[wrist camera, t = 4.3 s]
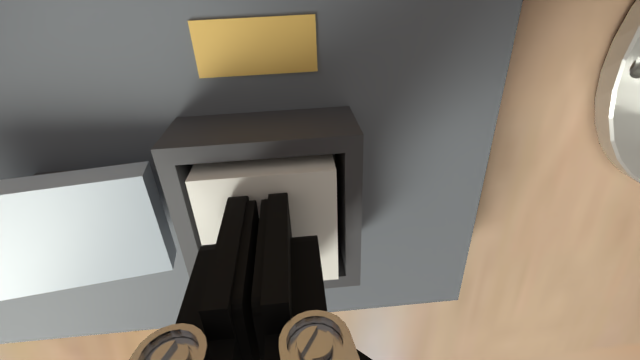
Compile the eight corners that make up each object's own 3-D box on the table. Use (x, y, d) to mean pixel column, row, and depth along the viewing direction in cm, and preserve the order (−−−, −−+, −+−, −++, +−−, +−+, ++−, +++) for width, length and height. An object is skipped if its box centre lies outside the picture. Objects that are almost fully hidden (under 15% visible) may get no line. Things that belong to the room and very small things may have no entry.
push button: (327, 135, 12) (336, 170, 10) (330, 233, 14) (338, 279, 12) (203, 144, 11) (184, 181, 9) (224, 242, 13) (213, 290, 11)
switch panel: (482, -46, 12) (604, -62, 8) (434, 256, 19) (483, 347, 15) (-324, -11, 11) (-782, -3, 6) (-66, 301, 18) (-193, 417, 13)
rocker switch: (148, 160, 11) (142, 176, 10) (176, 250, 13) (173, 270, 12) (-121, 195, 10) (-154, 215, 9) (-49, 289, 12) (-71, 313, 11)
